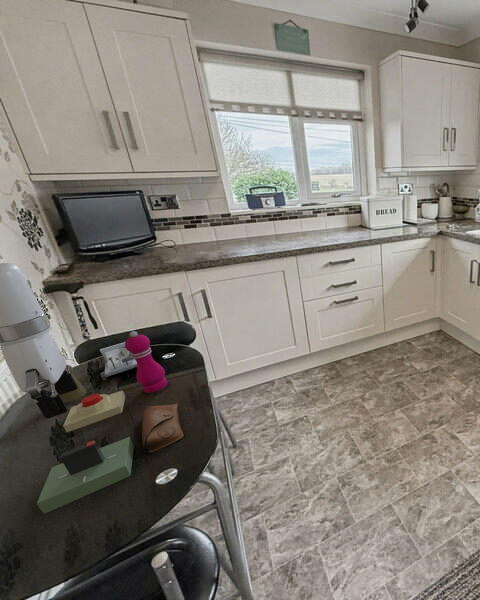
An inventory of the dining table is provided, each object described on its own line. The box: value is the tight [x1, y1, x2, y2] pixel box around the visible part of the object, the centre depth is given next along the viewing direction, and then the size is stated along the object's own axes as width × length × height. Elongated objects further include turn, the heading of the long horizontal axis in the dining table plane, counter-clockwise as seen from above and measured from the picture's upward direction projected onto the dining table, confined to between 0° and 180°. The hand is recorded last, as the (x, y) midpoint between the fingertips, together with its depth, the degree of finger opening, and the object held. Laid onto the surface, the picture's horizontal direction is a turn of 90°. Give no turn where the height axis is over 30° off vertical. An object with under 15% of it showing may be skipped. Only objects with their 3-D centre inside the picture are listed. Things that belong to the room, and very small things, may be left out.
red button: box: [80, 393, 102, 407], centre depth 93 cm, size 4×4×2 cm
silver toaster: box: [99, 341, 138, 382], centre depth 117 cm, size 18×10×12 cm
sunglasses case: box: [141, 403, 185, 454], centre depth 86 cm, size 18×7×7 cm
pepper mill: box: [124, 330, 168, 394], centre depth 102 cm, size 7×7×20 cm
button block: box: [62, 390, 126, 433], centre depth 94 cm, size 12×10×4 cm
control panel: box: [36, 436, 135, 515], centre depth 72 cm, size 14×11×3 cm
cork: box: [60, 364, 88, 404], centre depth 102 cm, size 6×6×11 cm
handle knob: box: [59, 440, 104, 475], centre depth 71 cm, size 6×2×5 cm, turn 125°
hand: (63, 402), depth 68 cm, fingers open, 9 cm apart
